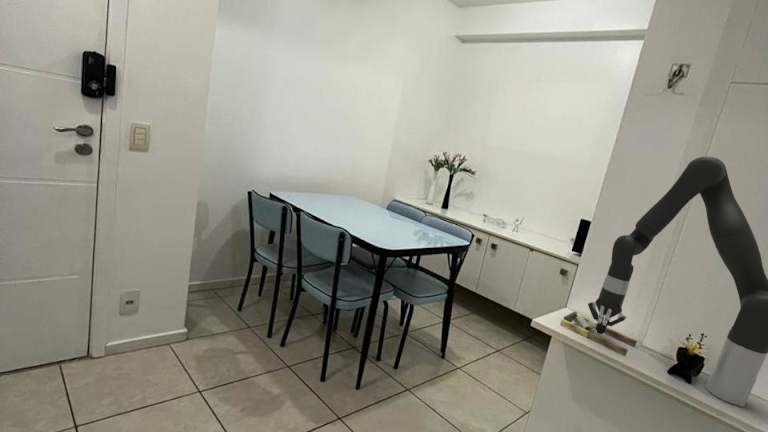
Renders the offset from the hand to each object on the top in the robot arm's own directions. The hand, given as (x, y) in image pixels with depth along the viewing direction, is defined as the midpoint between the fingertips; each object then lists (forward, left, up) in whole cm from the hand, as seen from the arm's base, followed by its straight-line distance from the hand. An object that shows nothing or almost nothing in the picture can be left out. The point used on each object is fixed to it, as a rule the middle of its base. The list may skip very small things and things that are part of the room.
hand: (599, 332), depth 145 cm
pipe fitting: (+4, 0, -2) cm, 4 cm away
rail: (0, 0, -1) cm, 1 cm away
